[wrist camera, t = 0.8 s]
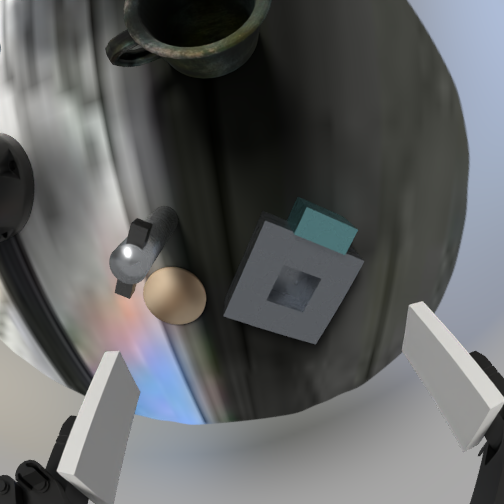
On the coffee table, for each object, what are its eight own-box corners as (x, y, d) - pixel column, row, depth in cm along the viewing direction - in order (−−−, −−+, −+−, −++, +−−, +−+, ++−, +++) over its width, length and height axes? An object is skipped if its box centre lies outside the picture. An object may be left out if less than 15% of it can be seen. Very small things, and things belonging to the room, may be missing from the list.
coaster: (138, 309, 39) (137, 311, 39) (153, 257, 37) (151, 259, 36) (195, 329, 41) (194, 332, 40) (214, 280, 38) (214, 282, 37)
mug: (277, 61, 29) (295, 27, 18) (152, 112, 31) (109, 105, 19) (240, -15, 25) (240, -70, 14) (121, 36, 27) (73, 3, 16)
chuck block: (224, 298, 39) (222, 321, 34) (273, 186, 34) (278, 195, 29) (309, 326, 41) (317, 349, 36) (364, 226, 36) (380, 240, 31)
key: (144, 239, 36) (103, 291, 24) (160, 189, 34) (118, 220, 22) (169, 248, 36) (137, 305, 24) (186, 198, 34) (157, 235, 22)
